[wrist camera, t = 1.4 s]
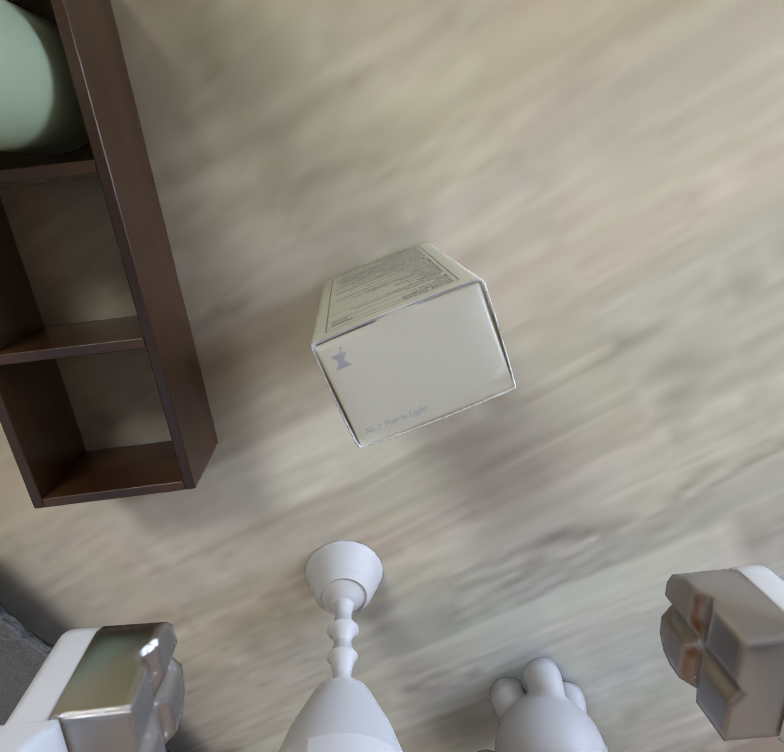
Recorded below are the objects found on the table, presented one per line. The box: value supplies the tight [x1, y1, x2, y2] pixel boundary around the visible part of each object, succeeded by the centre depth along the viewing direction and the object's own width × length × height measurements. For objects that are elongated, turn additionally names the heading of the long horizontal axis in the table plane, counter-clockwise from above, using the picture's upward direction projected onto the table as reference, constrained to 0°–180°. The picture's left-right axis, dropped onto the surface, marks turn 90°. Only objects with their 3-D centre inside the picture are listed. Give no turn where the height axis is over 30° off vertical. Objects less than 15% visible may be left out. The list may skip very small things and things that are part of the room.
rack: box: [0, 0, 218, 508], centre depth 26 cm, size 8×23×5 cm, turn 6°
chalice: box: [279, 541, 402, 752], centre depth 28 cm, size 7×7×18 cm
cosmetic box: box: [310, 242, 516, 448], centre depth 24 cm, size 6×4×12 cm
